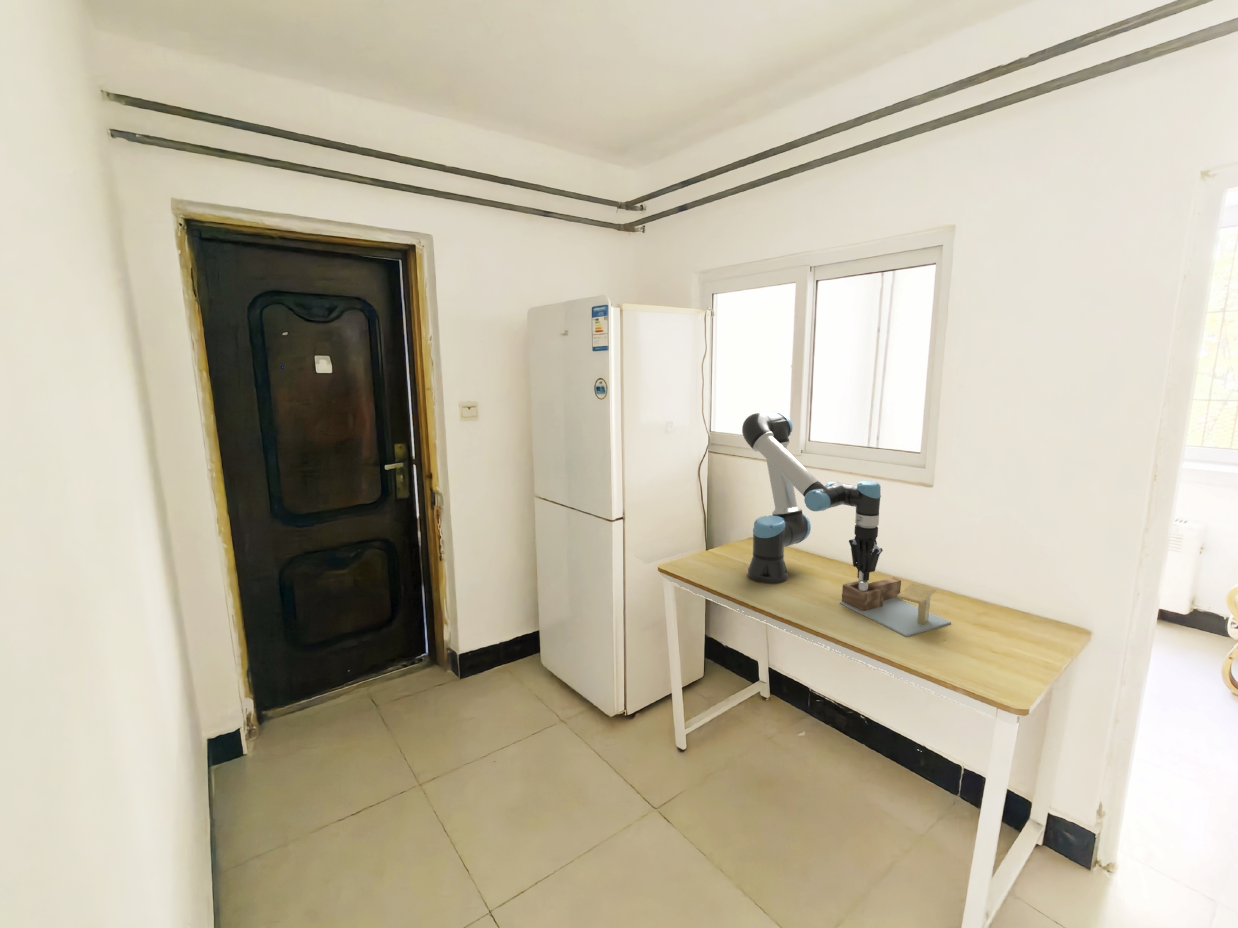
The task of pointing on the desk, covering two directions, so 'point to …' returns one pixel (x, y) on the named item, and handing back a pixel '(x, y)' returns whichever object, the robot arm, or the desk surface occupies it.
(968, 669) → the desk surface
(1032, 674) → the desk surface
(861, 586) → the cylinder
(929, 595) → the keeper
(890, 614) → the board
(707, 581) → the desk surface
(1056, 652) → the desk surface
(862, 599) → the link
